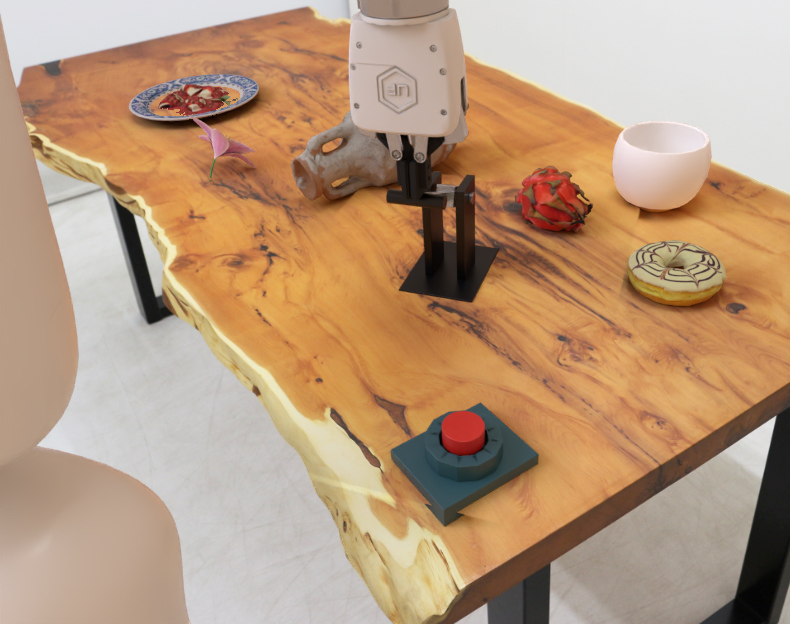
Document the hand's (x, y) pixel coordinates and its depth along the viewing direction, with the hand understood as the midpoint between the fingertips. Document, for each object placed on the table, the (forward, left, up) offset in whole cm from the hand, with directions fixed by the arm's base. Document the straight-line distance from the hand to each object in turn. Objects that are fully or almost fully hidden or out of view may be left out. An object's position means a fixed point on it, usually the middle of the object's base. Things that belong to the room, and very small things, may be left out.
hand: (415, 192), depth 71 cm
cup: (+35, -22, -17) cm, 44 cm away
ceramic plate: (+56, +68, -17) cm, 90 cm away
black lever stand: (+10, 0, -16) cm, 19 cm away
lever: (+5, 0, -4) cm, 7 cm away
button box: (-19, -11, -16) cm, 27 cm away
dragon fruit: (+25, -10, -17) cm, 32 cm away
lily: (+30, +44, -17) cm, 56 cm away
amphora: (+34, +17, -17) cm, 42 cm away
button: (-19, -11, -13) cm, 25 cm away
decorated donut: (+15, -26, -17) cm, 34 cm away
